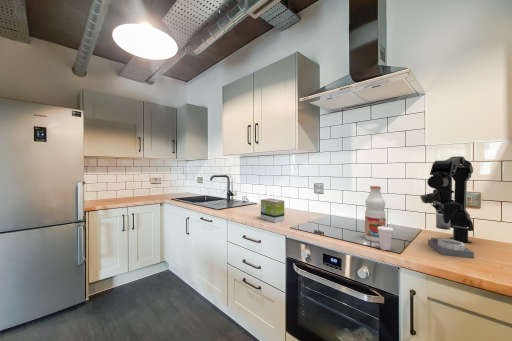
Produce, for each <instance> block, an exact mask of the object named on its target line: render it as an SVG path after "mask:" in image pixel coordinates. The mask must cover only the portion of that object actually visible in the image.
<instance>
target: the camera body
mask: <svg viewBox="0 0 512 341" xmlns="http://www.w3.org/2000/svg"><path fill="white" fill-rule="evenodd" d="M427 245H428V246H430V247H431V248H432V249H434V251H436V252H437V253H439V255H441V256H449V257H451V256H452V257H459V258H467V259H468V258H469V259H474V258H475V255H474V254H475V252H474V251H472V250H470V249H469V248H467V247H466V243H465V242H459V241H456V240H454V239H451V238H441V237H432V236H431V237H430V239H429V238H428V239H427Z"/></svg>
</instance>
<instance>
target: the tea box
mask: <svg viewBox="0 0 512 341" xmlns="http://www.w3.org/2000/svg"><path fill="white" fill-rule="evenodd" d="M260 220H263V221H267V222H271V223H274V224H276V223H281V222H284V221H285V200H282V199H276V198H263V199H260Z"/></svg>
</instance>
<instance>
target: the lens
mask: <svg viewBox="0 0 512 341" xmlns="http://www.w3.org/2000/svg"><path fill="white" fill-rule="evenodd" d="M435 228H436V229H439V230H447V231H448V230H451V228H450V221H449V222H448V223H444V219H443V212H442V211H441V210H436V209H435Z"/></svg>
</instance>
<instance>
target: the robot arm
mask: <svg viewBox="0 0 512 341" xmlns="http://www.w3.org/2000/svg"><path fill="white" fill-rule="evenodd" d="M473 173H474V168H473V165H472V162H470V161H469V160H467V159H466V158H465V157H464V156H462V155H461V156H460V155H459V156H451V157H449V158H447V159H445V160H435V161H434V163H432V165H431V168H430V172H429V177H428V178H427V181H426V182H427V185H428V186H429V187H430V188H432V189H433V190H432V192H430V193H427V194H422V195H420V196H419V198H420V200H421V203H424V204H430V205H431V207H432V208H434V209H435V211H436V210H441V211H442V212H443V219H444V223H448V222H449V221H450V229H453V230H452V233H453V234H452V236H449V239H454V240H456V241H459V242H462V243H469V244H472V241H471V240H469V232H474V227H475V226H474V223H473V220H472V219H471V215H470V214H469V212H468V211H467V187H468V185H467V184H468V183H467V182H468V181H469V180H470V179H471V178H472V174H473ZM453 181H454V190H453ZM453 194H454V196H453Z"/></svg>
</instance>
